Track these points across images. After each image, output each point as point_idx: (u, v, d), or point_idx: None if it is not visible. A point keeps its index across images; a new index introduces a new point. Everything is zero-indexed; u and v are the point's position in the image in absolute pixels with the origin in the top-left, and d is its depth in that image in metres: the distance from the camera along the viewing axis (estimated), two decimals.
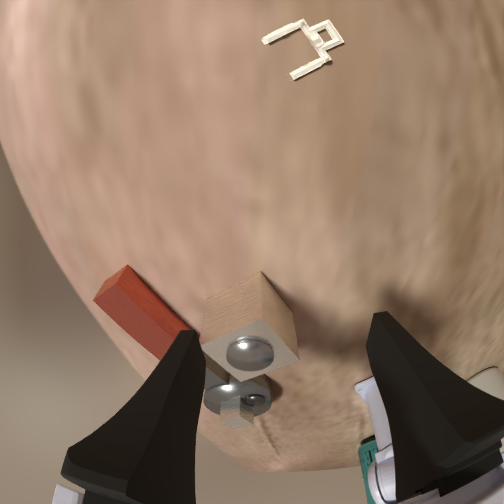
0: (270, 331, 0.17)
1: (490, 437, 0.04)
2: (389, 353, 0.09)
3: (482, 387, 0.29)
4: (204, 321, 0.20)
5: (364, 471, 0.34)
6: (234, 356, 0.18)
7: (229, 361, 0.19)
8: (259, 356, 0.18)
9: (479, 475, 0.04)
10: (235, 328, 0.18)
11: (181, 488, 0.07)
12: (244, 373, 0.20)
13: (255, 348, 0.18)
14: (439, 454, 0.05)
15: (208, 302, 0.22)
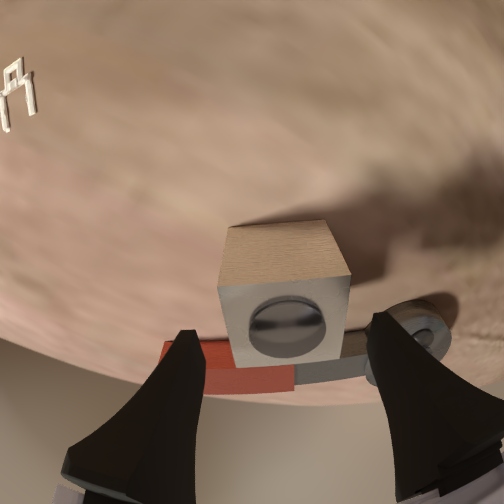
0: (251, 287, 0.11)
1: (490, 437, 0.04)
2: (388, 353, 0.09)
3: None
4: None
5: None
6: (272, 348, 0.12)
7: (279, 356, 0.12)
8: (292, 323, 0.11)
9: (479, 475, 0.04)
10: None
11: (181, 488, 0.07)
12: (324, 349, 0.12)
13: (270, 321, 0.11)
14: (439, 454, 0.05)
15: None
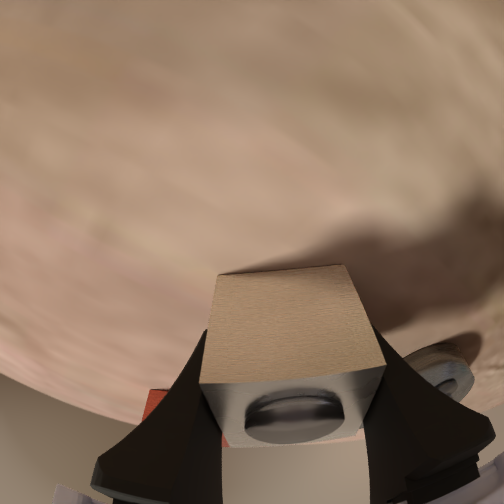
0: (246, 385, 0.07)
1: (458, 454, 0.04)
2: None
3: None
4: None
5: None
6: (274, 437, 0.08)
7: (283, 442, 0.08)
8: (302, 418, 0.07)
9: (452, 489, 0.04)
10: None
11: (212, 491, 0.06)
12: (338, 430, 0.09)
13: (273, 417, 0.07)
14: (406, 466, 0.05)
15: None
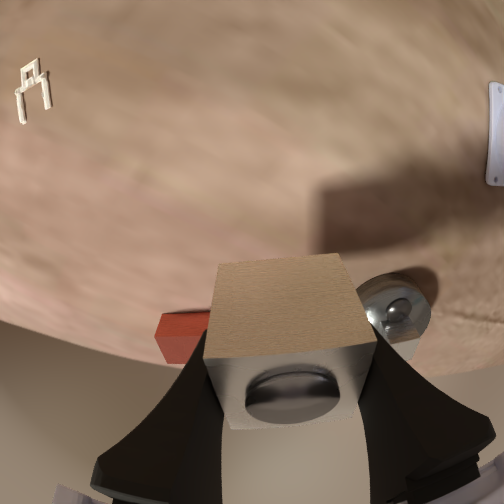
0: (247, 359, 0.08)
1: (458, 453, 0.04)
2: None
3: None
4: None
5: None
6: (273, 416, 0.09)
7: (282, 422, 0.09)
8: (299, 395, 0.08)
9: (452, 489, 0.04)
10: None
11: (211, 491, 0.06)
12: (335, 411, 0.09)
13: (272, 394, 0.08)
14: (406, 466, 0.05)
15: None
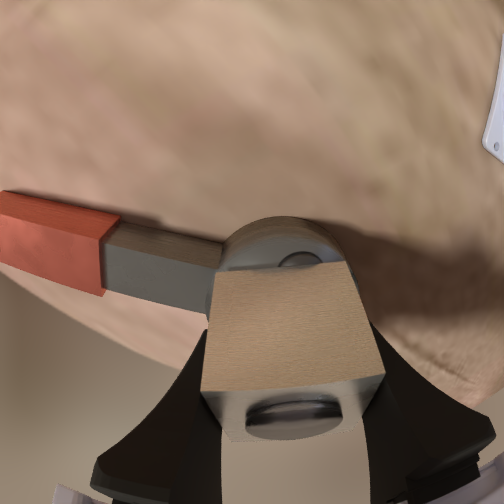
0: (247, 392, 0.07)
1: (458, 453, 0.04)
2: None
3: None
4: None
5: None
6: (274, 435, 0.08)
7: (282, 439, 0.09)
8: (301, 420, 0.08)
9: (452, 489, 0.04)
10: None
11: (211, 491, 0.06)
12: (336, 427, 0.09)
13: (273, 420, 0.08)
14: (406, 466, 0.05)
15: None
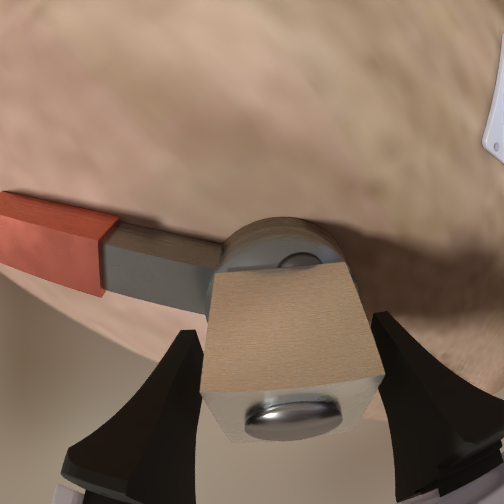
0: (246, 393, 0.07)
1: (490, 437, 0.04)
2: (389, 353, 0.09)
3: None
4: None
5: None
6: (274, 436, 0.08)
7: (282, 440, 0.09)
8: (300, 421, 0.08)
9: (479, 475, 0.04)
10: None
11: (181, 488, 0.07)
12: (336, 428, 0.09)
13: (273, 421, 0.08)
14: (439, 454, 0.05)
15: None
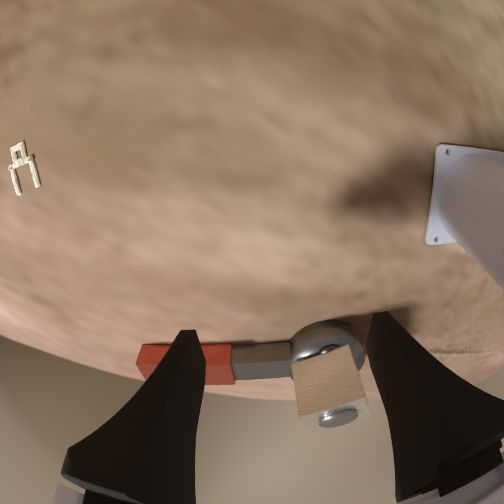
0: (315, 413, 0.18)
1: (490, 437, 0.04)
2: (389, 353, 0.09)
3: None
4: None
5: None
6: (332, 425, 0.19)
7: (337, 426, 0.20)
8: (339, 417, 0.18)
9: (479, 475, 0.04)
10: None
11: (181, 488, 0.07)
12: (360, 416, 0.20)
13: (328, 420, 0.19)
14: (439, 454, 0.05)
15: None
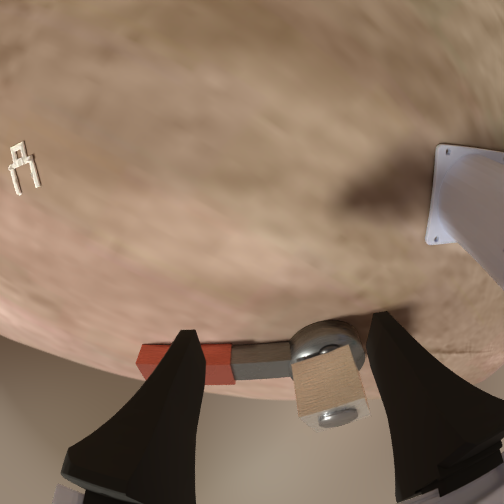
0: (315, 413, 0.18)
1: (490, 437, 0.04)
2: (389, 353, 0.09)
3: None
4: None
5: None
6: (332, 425, 0.19)
7: (337, 426, 0.20)
8: (339, 417, 0.18)
9: (479, 475, 0.04)
10: None
11: (181, 488, 0.07)
12: (360, 416, 0.20)
13: (328, 420, 0.19)
14: (439, 454, 0.05)
15: None
